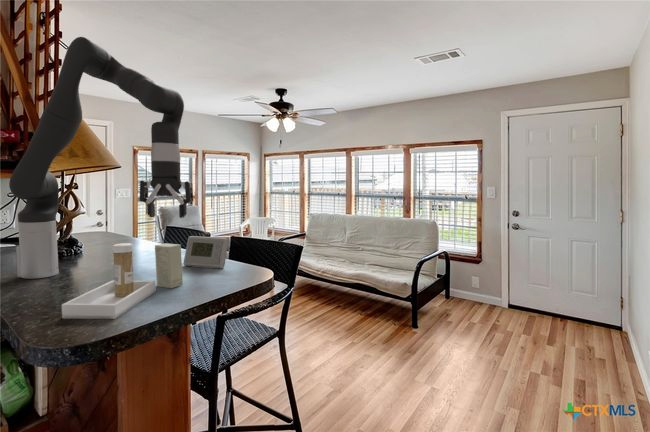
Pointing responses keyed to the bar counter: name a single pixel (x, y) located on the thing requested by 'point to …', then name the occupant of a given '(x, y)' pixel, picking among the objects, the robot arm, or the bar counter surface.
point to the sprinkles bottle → (123, 269)
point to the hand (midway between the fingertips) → (167, 217)
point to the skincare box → (168, 265)
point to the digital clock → (206, 252)
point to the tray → (106, 301)
